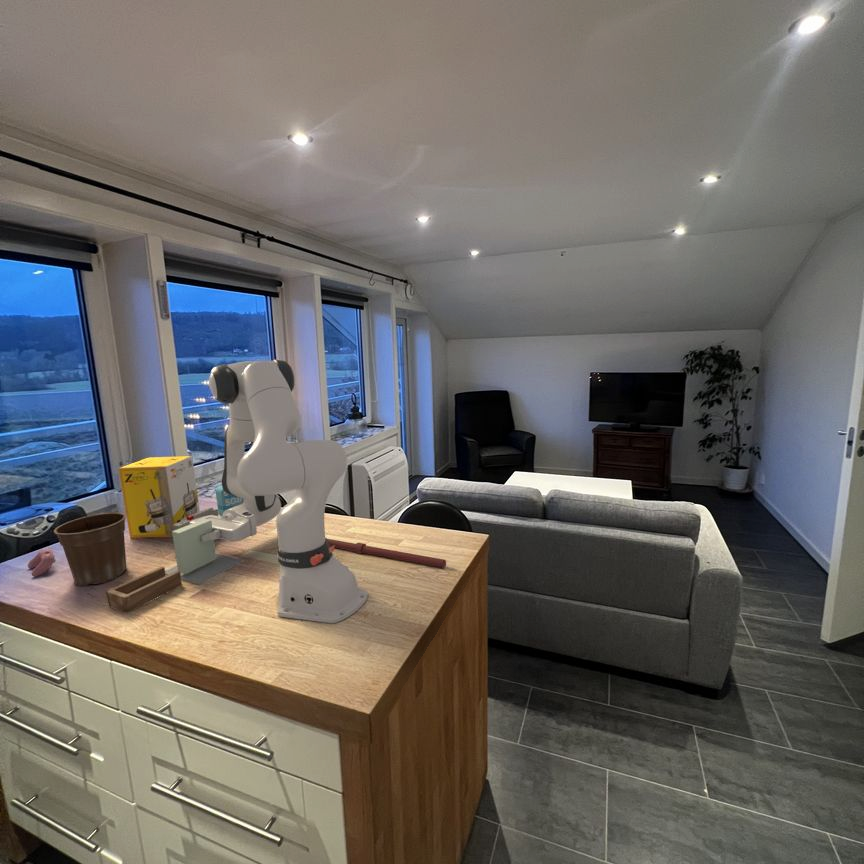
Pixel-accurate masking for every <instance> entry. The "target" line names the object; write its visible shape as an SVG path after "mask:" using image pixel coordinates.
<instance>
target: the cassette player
mask: <svg viewBox="0 0 864 864" xmlns="http://www.w3.org/2000/svg"><path fill="white" fill-rule="evenodd" d="M208 515H215V516H220V515H219V514H218V508H214V507H212V506H210V507H207V508H205V509H203V510H200V512H198V513H195V514H193V515H190V516H188V517H187V519H186V520H184V521H181V522H179V523H176V524H174V525H172V526H173V531H175V530H177V529H180V528H182V527H185V526H188V525H189V523H190V522H191V521H192V520H195V519H198V518H201V517H204V516H208Z"/></svg>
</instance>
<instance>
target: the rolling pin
mask: <svg viewBox="0 0 864 864" xmlns="http://www.w3.org/2000/svg"><path fill="white" fill-rule="evenodd" d="M325 538H326V539H327V541H328V543H329V546H330V547H332V546H334V545H335V547H334V549H336V548H337V549H341V550H345V551H346V550H347V551H351V552H354V553H355V554H359V553H360V554H359V555H363V554H368V555H373V556H379V557H384V558H389V559H394V560H401V561H405V562H408V563H409V562H410V563H415V564H421V565H427V566H431V567H437V568H443V569H445V567H446V566H447V560H446V559H443V558H438V557H431V556H428V555H427V556H425V555H421V554H417V553H415V554H414V553H411V552H403V551H399V550H393V549H389V548H387V549H386V548H382V547H376V546H370V545H367V544H366V543H363V542H357V543H354V542H349V541H342V540H338V539H331V538H327V537H325ZM362 553H363V554H362Z"/></svg>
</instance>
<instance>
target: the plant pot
mask: <svg viewBox="0 0 864 864" xmlns="http://www.w3.org/2000/svg"><path fill="white" fill-rule="evenodd" d="M125 520H127V516H126V513H122V512H105V513H97V514H92V515H88V516H83V517H79V518H76V519H73V520H70V521H67V522H65V523H63V524H61V525H58V526H57V527H56V528H54V530H53V533H54V535H56V536H57V539H58V541H59V544H60V546H62V549H63V551H64V555H65V557H66V561H67V563H68V566H69V569H70V573H71V575H72V579H73V582H74V584H75V585H76V586H81V587H85V586H86V587H88V586H89V585H91V584H95V585H98V584H102V583H106V582H109V581H111V580H114V579H116V578H118V577H119V576H122V575H123V574H124V572H125V571H127V567H128V566H127V556H126V543H125V531H126V521H125Z"/></svg>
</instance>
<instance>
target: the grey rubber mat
mask: <svg viewBox="0 0 864 864" xmlns="http://www.w3.org/2000/svg"><path fill="white" fill-rule="evenodd" d="M242 561H243V562H245V559H242V558H237V557H233V556H229V555H225V554H221V553H217V552H216V559H215V560H213V561H211V562H209V563H207V564H205V565H203V566H201V567H199V568H197V569H195V570H192V571H190V572H188V573H186V574H183V573H180V575H181V581H185V582H188V583H191V582H192V583H191V584H196V585H198V584H199V585H202V584H203V583H205V582H207V581H209V580H211V579H213V578H214V576H215V577H216V575H217V576H218V575H220V574H223V573H225V572H226V571H228V570H230V569H232V568H233V566H234V567H235V565H236V566H237V564H238V563H239V564H241V563H243V562H242ZM240 562H241V563H240ZM239 564H238V565H239ZM231 567H232V568H231ZM229 568H230V569H229ZM175 571H178V568H177V565H175V566H173V567H170V568H168V569H167V570H166V569H165V574H166V576H167V575H169V574H171V573H173V572H175ZM212 577H213V578H212ZM210 578H211V579H210ZM208 579H209V580H208ZM206 580H207V581H206ZM204 581H205V582H204ZM202 582H203V583H202Z"/></svg>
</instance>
